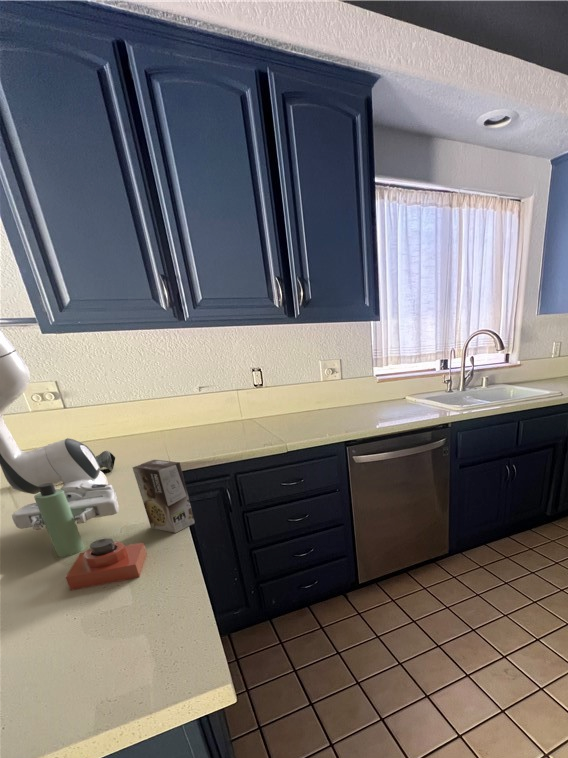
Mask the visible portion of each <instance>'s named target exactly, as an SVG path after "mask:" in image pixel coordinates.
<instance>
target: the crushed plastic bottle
mask: <svg viewBox="0 0 568 758" xmlns="http://www.w3.org/2000/svg"><path fill="white" fill-rule="evenodd" d="M95 457H96V459H97V461H98V463H99V466H100V469H102V468H105V469H108V470H109V471H110V472H113V470H114V467H115V462H116V456H115V455H114V454H113V453H112V452H111V451H110V450H104V451H102V452H100V454H98V455H95Z"/></svg>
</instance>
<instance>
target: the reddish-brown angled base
mask: <svg viewBox="0 0 568 758" xmlns="http://www.w3.org/2000/svg"><path fill="white" fill-rule="evenodd" d="M114 544H115V547H116V550H114V551H113V552H111V553H108V554H105V555H101V556H94V555H93V553H92V551H91V548H89V549H87V550H85V552H79V555H78V556H77V558H76V559H75V561H74V562H73V564H72V566H71V568H70V569H69V571H68V573H67V574H66V575H65V580H66V583H67V585H68V588H69V590H70V591H74V590H79V589H85V588H90V587H95V586H101V585H105V584H111V583H116V582H121V581H127V580H131V579H137V578H140V577H141V574H142V571H143V568H144V565H145V562H146V559H147V557H148V552H147V548H146V546H145V543H144V542H138V543H137V542H136V543H132V544H126V545H125V544H124V543H123V542H120V541H114Z"/></svg>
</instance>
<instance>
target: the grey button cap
mask: <svg viewBox="0 0 568 758" xmlns="http://www.w3.org/2000/svg"><path fill="white" fill-rule="evenodd" d="M114 542H115V541H114V540H113V538H109V537H106V538H101V539H97V540H95V541H93V542H92V543H90V545H89V547H90V548H89V549H91V551H92V553H93V555H94V556H101V555H105V554H108V553H111V552H113V551H114V550H116V547H115V544H114Z"/></svg>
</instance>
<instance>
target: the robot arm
mask: <svg viewBox="0 0 568 758" xmlns="http://www.w3.org/2000/svg"><path fill="white" fill-rule="evenodd" d="M30 383H31V373H30V370H29V368H28V366H27V364H26V362H25V361H24V359H23V358H22V356H21V355H20V353H19V351H18V350H17V349H16V347H15V346H14V345H13V343H12V342H11V341H10V339H8V337H7V336H6V335H5V334H4V332H3V331H2V330H1V329H0V468H1V470H2V473H3V475H4V477H5V479H6V481H7V483H8V484H9V486H11V487H12V488H13V489H14V490H16V491H19V492H22V493H25V494H30V495H36V494H38V493H40V490H39V488H38V486H39V485H41V484H45V483H53V485H54V487H55V486H57V485H60V484H63V485H62V486H61V487H60V488H59V489H61V490H63V491H64V493H65V496H66V499H67V501H68V504H69V507H70V509H71V512H72V515H73V517H74V520H75V522H76V525H79V524H85V523H86V522H87V521H89V520H91V519H95V518H101V517H110V516H115V515H116V514H118V513H119V511H120V506H119V501H118V497H117V493H116V491H115V489H114V487H113V485H112V484H110V483H109V481H108V478H107V476H106V475H105V473H104V472H103V471H101V468H100V466H99V463H98V461H97V459H96V455H95V453H93V451H92V449H91V448H90V447H89V446H87V445H86V444H84V443H82V442H80V441H79V440H76V439H73V438H64V439H62V440H58V441H55V442H52V443H49V444H47V445H44V446H40V447H38V448H35V449H32V450H29V451H23V450H22V449H20V447H19V446H18V444H17V442H16V440H15V439H14V437H13V435H12V433H11V431H10V429H9V428H8V426H7V425H6V422H5V420H4V414H5V411H6V410H7V409H8V407H9V406H11V404H13V403H15V401H17V400H18V399H19V398H20V397H21V396H23V394H24V393H25V392H26V390H27V389H28V387H29V385H30ZM11 519H12V521H13V524H14V525H15V527H16V528H17V529H20V530H24V529H31V528H32V530H33V531H40V530H43V529H44V528H45V526H46V525H45V523H44V521H43V518H42V516H41V513H40V511H39V508H38V506H37V503H36V502H32V503H29V504H26V505H24V506H22V507H20V508H19V509H18V510H16V511H14V512H13V513H12V514H11Z"/></svg>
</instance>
